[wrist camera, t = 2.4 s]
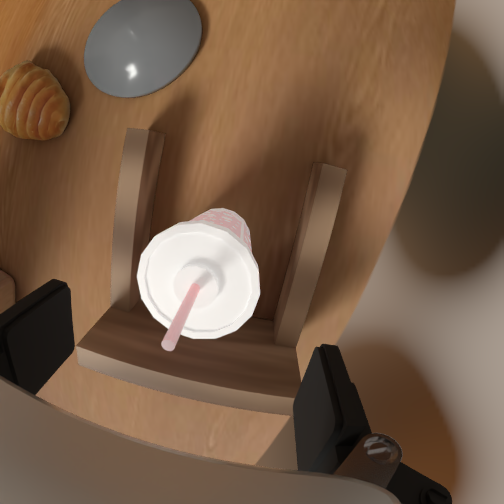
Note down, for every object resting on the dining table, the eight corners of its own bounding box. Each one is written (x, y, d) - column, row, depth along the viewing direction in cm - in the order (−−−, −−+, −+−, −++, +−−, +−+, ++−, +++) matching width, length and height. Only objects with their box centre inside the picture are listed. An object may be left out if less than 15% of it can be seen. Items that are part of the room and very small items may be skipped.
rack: (146, 131, 21) (82, 120, 12) (334, 167, 21) (380, 175, 13) (127, 304, 25) (78, 364, 16) (286, 339, 25) (296, 416, 17)
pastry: (90, 88, 20) (65, 80, 16) (57, 159, 22) (30, 162, 18) (30, 60, 18) (6, 53, 15) (3, 122, 20) (-22, 122, 17)
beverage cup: (164, 231, 23) (61, 320, 10) (226, 180, 22) (171, 216, 8) (214, 290, 24) (171, 425, 11) (277, 245, 23) (297, 362, 10)
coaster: (107, -4, 17) (104, -6, 16) (216, -7, 17) (215, -10, 16) (75, 96, 20) (71, 95, 19) (185, 103, 20) (183, 101, 19)
